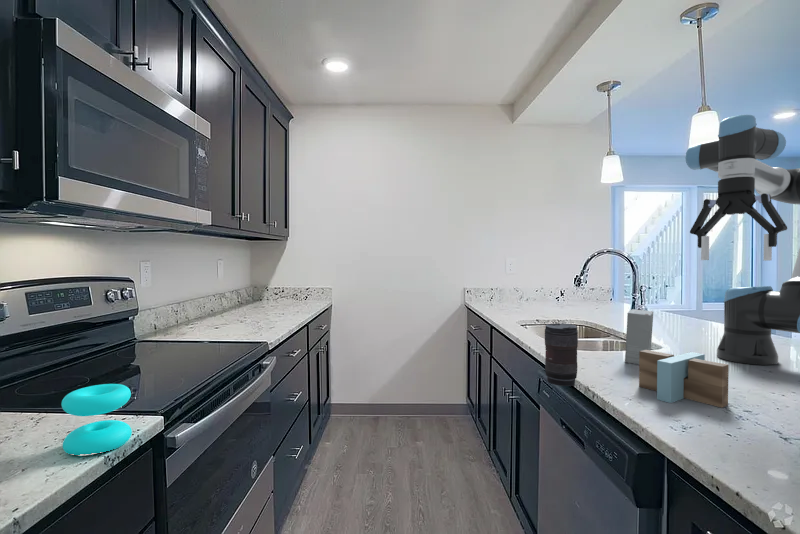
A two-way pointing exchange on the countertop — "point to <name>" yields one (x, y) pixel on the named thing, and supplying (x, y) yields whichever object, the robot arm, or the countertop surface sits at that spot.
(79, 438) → the donuts
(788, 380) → the countertop surface
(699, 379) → the walnut notched block
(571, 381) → the camera lens
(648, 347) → the skincare box
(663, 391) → the light blue notched block
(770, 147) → the robot arm
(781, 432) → the countertop surface
